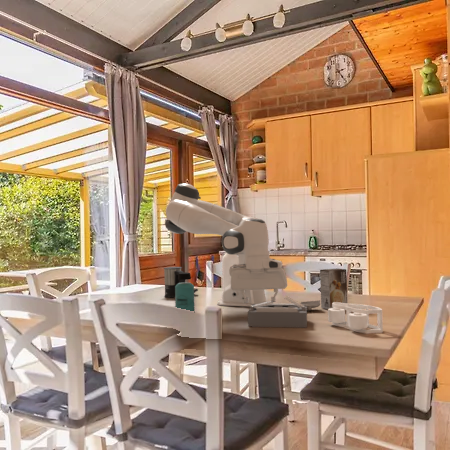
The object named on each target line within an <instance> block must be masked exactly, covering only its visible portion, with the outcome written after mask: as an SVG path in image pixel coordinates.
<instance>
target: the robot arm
mask: <svg viewBox="0 0 450 450" xmlns="http://www.w3.org/2000/svg"><path fill="white" fill-rule="evenodd" d="M200 199H201V196H200V192H199V190H198V188H196V187H195V186H194V185H192V184H191V183H179V184H177V186H176V187H175V189H174V193H173V195H172V196H171V199H170V202H169V203H168V204H167V206H166V208H165V215H166V218H165V221H164V226H165V229H166V230H168V231H169V232H171V233H172V234H179V235H180V234H181V235H183V234H184V233H186V232H188V233H191V234H194V235H217V236H222V237H221V246H222V249H223V251H224V252H225V253H228V254H231V255H237V256H238V265H233V266H231V267H230V269H229V274H230V276H231V284H230V285H229V286H228V287H226V288H225V289H224V291H223V290H222V294H221V296H222V297H221V299H219V300H218V301H217V303H216V305H218V306H229V307H230V306H232V307H250V306H252V304H255V305H256V304H260V303H264V302H268V300H267V297H266V293H265V292H266V290H273V293H274V295H273V296H270V301H271V302H273V303H276V297H277V295H278V292H279V290H282V289H284V290H285V289H287V287H288V280H287V279H288V277H287V274H286V270H285V269H284V268H283V266H284V265H283V262H282V261H281V260H278V259H275V258H271V257H270V251H269V240H270V239H269V232H268V231H269V230H268V226H267V223H266V221H265V220H263V219H260V218H257V217H255V216H247V215H245V214H243V213H239V212H237V211H234V210H232V209H229V208H226V207H224V206H221V205H219V204H216V203H212V202H209V201H205V200H200ZM232 267H233V268H232ZM237 267H238V268H237Z"/></svg>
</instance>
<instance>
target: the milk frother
mask: <svg viewBox="0 0 450 450" xmlns="http://www.w3.org/2000/svg"><path fill="white" fill-rule="evenodd" d="M182 268H183V267H182V266H169V267H167V266H166V267H163V269H164V270H163V271H164V272H163V273H164V274H163V275H164V297H165V298H175V286H176V285H177V284H178V283H185V282H186V280H179V279H178V277H179V273H184V272H185V271H183V270H182ZM198 290H199V289H198V288H194V294H195V293H196V292H198Z"/></svg>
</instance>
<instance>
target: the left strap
mask: <svg viewBox="0 0 450 450" xmlns="http://www.w3.org/2000/svg"><path fill="white" fill-rule="evenodd" d="M273 303H274V302H271V300H267V302H264V303H260V304H256V305H252V306H254V308H257V307H262V306H266V305H270V304H273Z"/></svg>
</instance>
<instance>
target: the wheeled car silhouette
mask: <svg viewBox="0 0 450 450" xmlns="http://www.w3.org/2000/svg"><path fill="white" fill-rule="evenodd" d="M332 307H333V308H329V309H327V316H328V317H327V319H328V320H327V321H328V322H329V323H331V324H332V325H333V326H336V327H340V328H345V329H347V330H350V331H352V332H357V333H361V334H382V333H384V329H383V327H384V326H383V325H384V323H383V309H382V308H381V307H379V306H373V305H371V304H370V305H369V304H362V303H361V304H360V303H348V302H347V303H340V302H333V303H332ZM371 314H372V315H373V314H376V317H377V319H376V320H377V325H374V324H371V323H370V315H371ZM367 328H370V329H367Z"/></svg>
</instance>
